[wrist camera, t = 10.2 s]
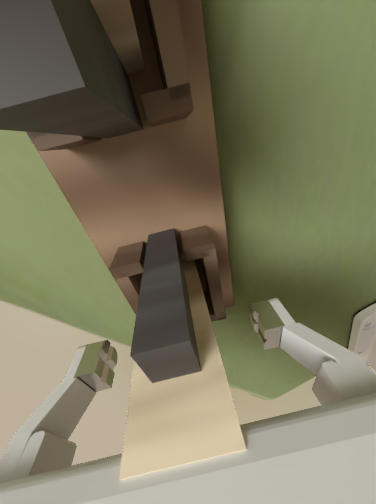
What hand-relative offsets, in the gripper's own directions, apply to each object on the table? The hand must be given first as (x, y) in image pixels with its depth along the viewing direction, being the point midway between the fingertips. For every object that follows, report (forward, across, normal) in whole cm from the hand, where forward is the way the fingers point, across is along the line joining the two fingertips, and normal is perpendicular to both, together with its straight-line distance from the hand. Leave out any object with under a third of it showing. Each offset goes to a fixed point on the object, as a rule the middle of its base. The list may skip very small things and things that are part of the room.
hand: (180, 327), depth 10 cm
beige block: (+5, 0, 0) cm, 5 cm away
